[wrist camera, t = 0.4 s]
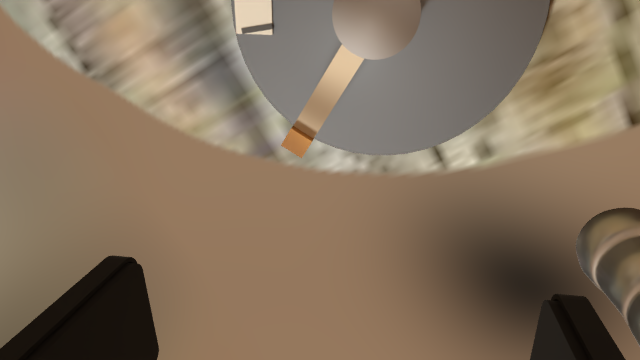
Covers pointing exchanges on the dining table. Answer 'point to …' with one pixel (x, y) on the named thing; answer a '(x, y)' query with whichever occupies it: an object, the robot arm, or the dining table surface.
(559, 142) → the dining table surface
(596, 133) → the dining table surface
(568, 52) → the dining table surface
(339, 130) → the dial base
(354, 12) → the tan knob handle
